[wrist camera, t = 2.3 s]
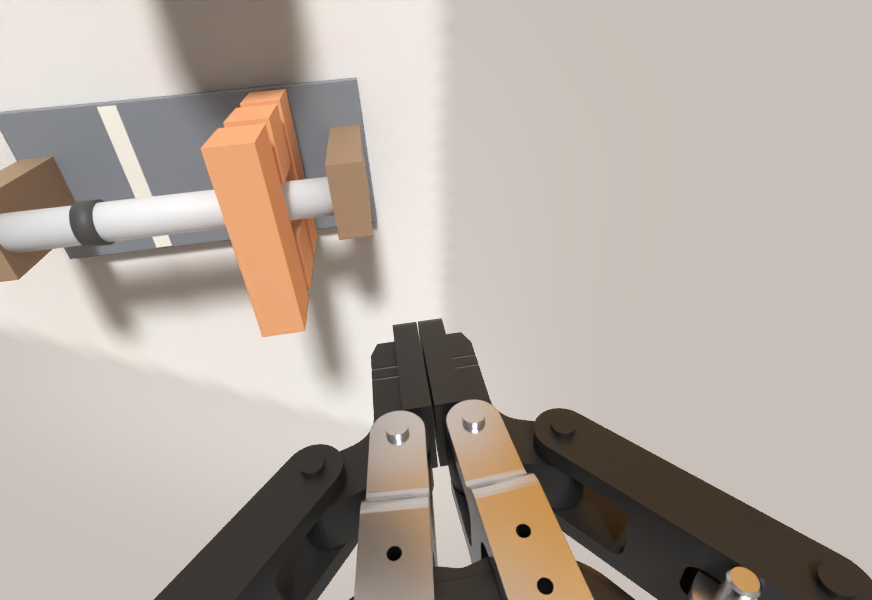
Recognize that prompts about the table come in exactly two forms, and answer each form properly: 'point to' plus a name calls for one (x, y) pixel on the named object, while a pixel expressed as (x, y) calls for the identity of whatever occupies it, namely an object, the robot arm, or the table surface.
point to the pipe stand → (165, 172)
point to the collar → (264, 208)
